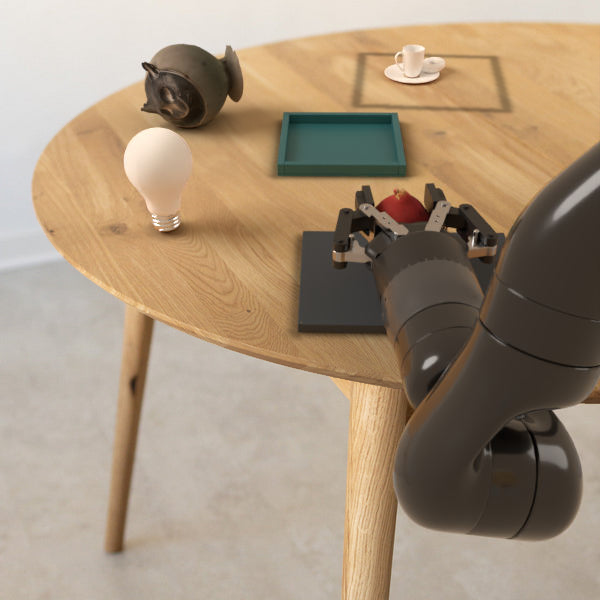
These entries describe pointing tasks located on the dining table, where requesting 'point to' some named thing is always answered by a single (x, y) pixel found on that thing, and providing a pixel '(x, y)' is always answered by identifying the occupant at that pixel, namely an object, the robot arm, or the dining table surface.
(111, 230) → the dining table surface
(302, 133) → the tray
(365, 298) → the mat
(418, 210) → the onion
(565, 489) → the robot arm
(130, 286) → the dining table surface
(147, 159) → the light bulb
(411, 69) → the teacup and saucer
